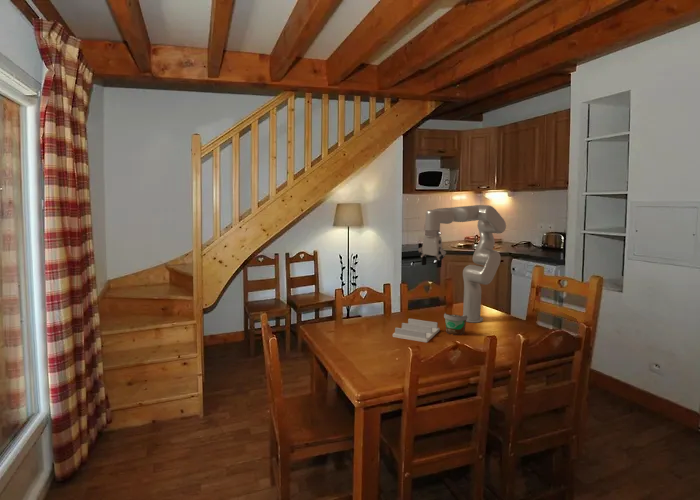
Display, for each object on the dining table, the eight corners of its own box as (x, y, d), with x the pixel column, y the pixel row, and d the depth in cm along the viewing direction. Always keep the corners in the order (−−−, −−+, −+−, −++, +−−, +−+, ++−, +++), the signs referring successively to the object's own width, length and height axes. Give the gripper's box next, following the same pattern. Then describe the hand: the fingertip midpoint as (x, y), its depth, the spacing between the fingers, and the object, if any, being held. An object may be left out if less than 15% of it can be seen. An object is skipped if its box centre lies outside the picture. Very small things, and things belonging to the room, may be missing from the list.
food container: (440, 333, 232) (441, 315, 231) (443, 330, 238) (444, 312, 236) (464, 337, 227) (465, 318, 225) (467, 334, 232) (467, 315, 231)
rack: (407, 325, 246) (407, 317, 245) (439, 330, 237) (439, 322, 237) (392, 336, 227) (392, 328, 227) (426, 342, 219) (427, 333, 218)
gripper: (450, 234, 230) (449, 267, 232) (423, 232, 243) (422, 263, 245) (441, 235, 225) (440, 269, 227) (414, 232, 237) (413, 264, 240)
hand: (431, 266), depth 236 cm, fingers open, 9 cm apart
